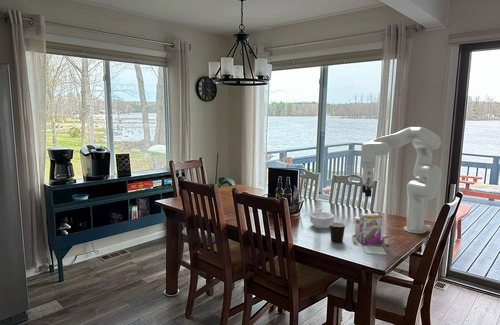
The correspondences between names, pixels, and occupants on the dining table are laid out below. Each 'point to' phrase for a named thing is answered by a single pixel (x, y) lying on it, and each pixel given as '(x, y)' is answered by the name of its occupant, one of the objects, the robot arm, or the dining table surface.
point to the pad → (374, 250)
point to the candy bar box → (370, 228)
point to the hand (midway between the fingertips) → (366, 194)
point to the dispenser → (356, 232)
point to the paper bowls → (321, 219)
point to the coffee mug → (337, 232)
